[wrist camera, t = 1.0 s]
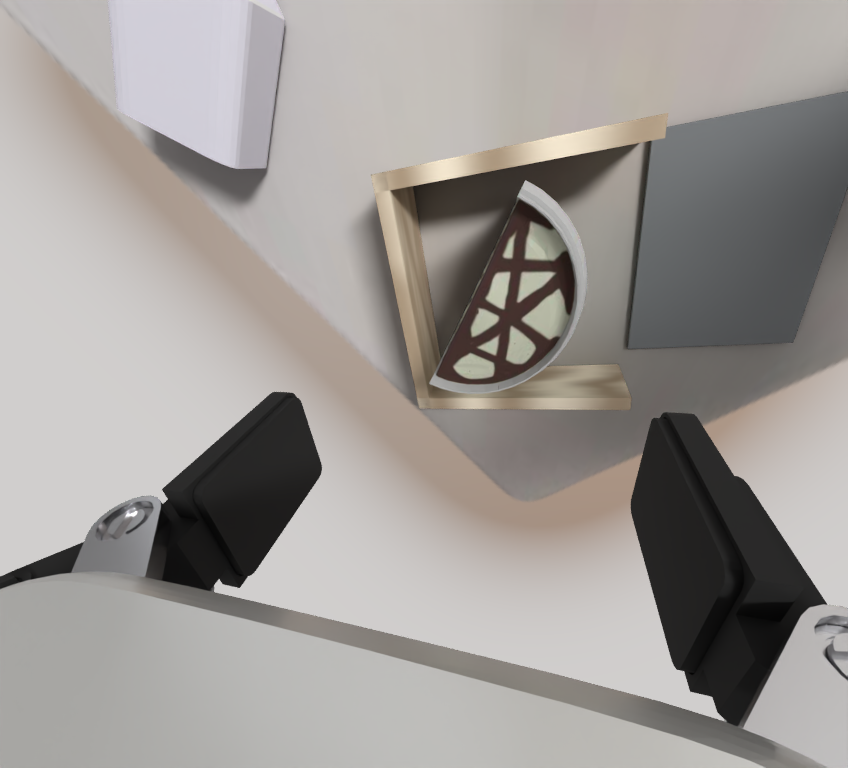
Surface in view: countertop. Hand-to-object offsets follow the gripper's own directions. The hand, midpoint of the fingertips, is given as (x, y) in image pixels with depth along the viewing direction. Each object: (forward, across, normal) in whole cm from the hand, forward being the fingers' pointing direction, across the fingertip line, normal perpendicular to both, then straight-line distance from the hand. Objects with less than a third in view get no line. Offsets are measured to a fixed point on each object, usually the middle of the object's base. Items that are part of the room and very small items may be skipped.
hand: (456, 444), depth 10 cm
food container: (+21, -1, +1) cm, 21 cm away
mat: (+21, -14, -1) cm, 25 cm away
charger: (+22, +18, -17) cm, 33 cm away
